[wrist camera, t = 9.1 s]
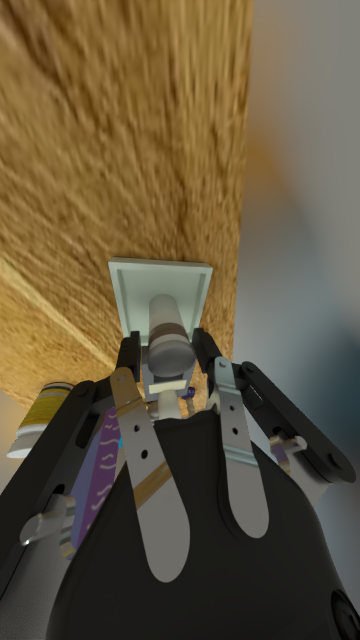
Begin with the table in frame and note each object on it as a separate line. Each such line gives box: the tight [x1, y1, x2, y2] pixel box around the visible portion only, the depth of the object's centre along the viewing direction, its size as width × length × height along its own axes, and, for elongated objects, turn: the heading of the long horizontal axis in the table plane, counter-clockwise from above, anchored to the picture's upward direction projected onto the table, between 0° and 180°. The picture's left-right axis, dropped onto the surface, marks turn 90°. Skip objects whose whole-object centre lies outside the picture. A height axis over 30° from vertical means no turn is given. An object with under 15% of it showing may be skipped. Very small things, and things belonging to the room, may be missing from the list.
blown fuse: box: [148, 294, 195, 377], centre depth 13 cm, size 4×4×8 cm
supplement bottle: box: [7, 383, 73, 458], centre depth 20 cm, size 5×5×8 cm
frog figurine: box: [147, 400, 159, 425], centre depth 32 cm, size 6×7×7 cm
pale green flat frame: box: [108, 257, 213, 346], centre depth 16 cm, size 11×10×2 cm
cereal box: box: [43, 406, 120, 640], centre depth 20 cm, size 17×5×24 cm, turn 154°
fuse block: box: [141, 342, 197, 420], centre depth 21 cm, size 12×8×10 cm, turn 174°
